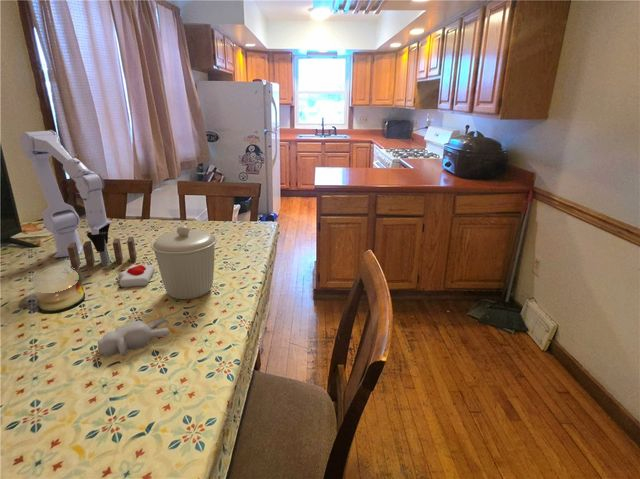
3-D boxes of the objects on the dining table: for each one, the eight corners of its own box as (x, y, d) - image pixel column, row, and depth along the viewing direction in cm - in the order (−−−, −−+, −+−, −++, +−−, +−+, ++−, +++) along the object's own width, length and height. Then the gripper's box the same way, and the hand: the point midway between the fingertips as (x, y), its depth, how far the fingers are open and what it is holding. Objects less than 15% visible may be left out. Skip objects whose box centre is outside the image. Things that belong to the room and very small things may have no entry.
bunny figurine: (95, 329, 90) (161, 307, 96) (102, 346, 92) (166, 324, 98) (95, 351, 82) (167, 326, 88) (103, 369, 84) (172, 343, 90)
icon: (122, 261, 127) (154, 259, 129) (124, 272, 128) (156, 270, 130) (110, 276, 116) (145, 274, 117) (113, 289, 117) (147, 287, 119)
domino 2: (87, 267, 131) (82, 246, 128) (90, 262, 135) (85, 241, 132) (92, 267, 131) (88, 245, 128) (95, 261, 136) (90, 240, 133)
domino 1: (72, 269, 129) (67, 247, 126) (75, 263, 133) (70, 242, 131) (77, 269, 130) (72, 247, 127) (80, 263, 134) (75, 242, 131)
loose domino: (102, 266, 132) (97, 244, 129) (104, 260, 136) (100, 239, 134) (107, 265, 133) (103, 244, 130) (109, 260, 137) (105, 239, 134)
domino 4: (130, 262, 135) (127, 241, 132) (131, 257, 140) (128, 237, 137) (135, 262, 136) (132, 241, 133) (136, 257, 140) (133, 236, 137)
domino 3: (116, 264, 134) (112, 243, 131) (118, 259, 138) (114, 238, 135) (121, 263, 134) (117, 242, 131) (123, 258, 139) (119, 238, 136)
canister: (231, 283, 121) (227, 220, 114) (197, 311, 105) (189, 240, 98) (184, 274, 127) (177, 214, 119) (144, 300, 111) (133, 231, 103)
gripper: (105, 214, 123) (112, 253, 127) (111, 203, 135) (117, 239, 140) (80, 216, 120) (88, 256, 125) (88, 205, 133) (96, 241, 138)
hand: (102, 247), depth 133 cm, fingers open, 7 cm apart
